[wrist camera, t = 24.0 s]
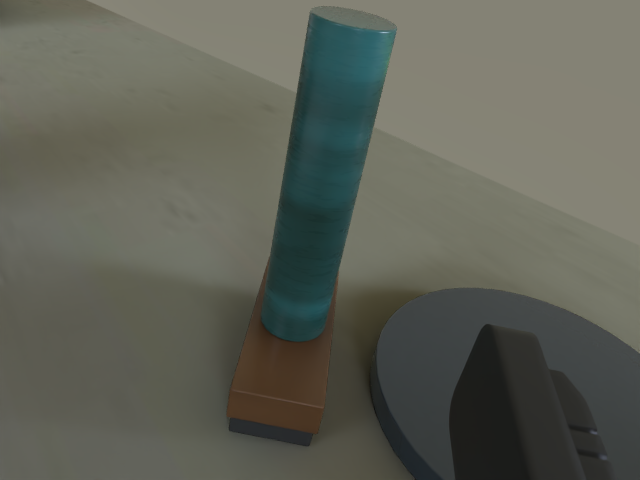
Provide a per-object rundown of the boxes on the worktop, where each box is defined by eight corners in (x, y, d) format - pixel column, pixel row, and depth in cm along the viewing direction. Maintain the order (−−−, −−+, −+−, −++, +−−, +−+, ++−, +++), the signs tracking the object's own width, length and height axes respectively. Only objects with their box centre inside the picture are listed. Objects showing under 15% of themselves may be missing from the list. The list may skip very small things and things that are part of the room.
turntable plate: (316, 326, 29) (320, 307, 28) (538, 289, 35) (546, 273, 35) (515, 648, 18) (530, 629, 17) (785, 508, 24) (802, 490, 24)
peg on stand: (312, 452, 22) (415, 66, 15) (223, 434, 22) (278, 38, 15) (329, 308, 30) (403, 4, 22) (263, 295, 30) (313, -15, 22)
